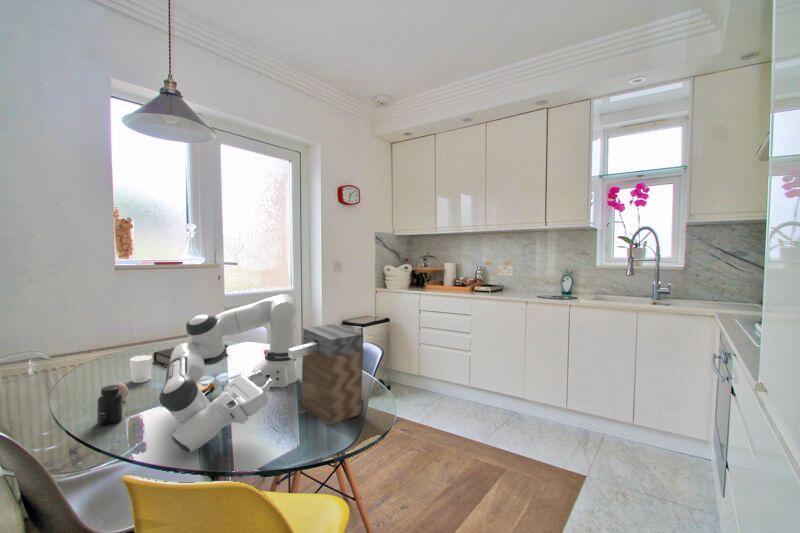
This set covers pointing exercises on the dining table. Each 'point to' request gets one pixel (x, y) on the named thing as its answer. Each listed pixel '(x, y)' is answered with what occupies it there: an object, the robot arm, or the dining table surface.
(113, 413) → the supplement bottle
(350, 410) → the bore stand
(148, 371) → the white cup
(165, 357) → the book
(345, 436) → the dining table surface
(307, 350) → the steel bar
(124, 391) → the egg
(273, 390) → the dining table surface
